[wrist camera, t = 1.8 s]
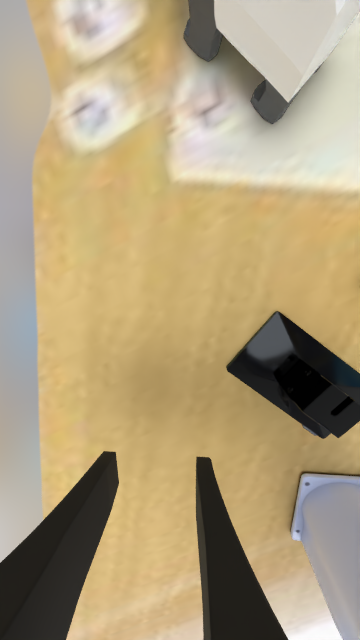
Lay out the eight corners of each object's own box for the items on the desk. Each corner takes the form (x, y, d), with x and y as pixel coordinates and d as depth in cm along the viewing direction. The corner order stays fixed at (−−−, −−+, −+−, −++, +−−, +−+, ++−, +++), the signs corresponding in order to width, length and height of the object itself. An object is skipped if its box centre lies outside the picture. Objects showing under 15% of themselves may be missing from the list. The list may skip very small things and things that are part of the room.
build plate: (377, 388, 18) (440, 427, 13) (318, 437, 19) (356, 487, 15) (276, 310, 17) (308, 323, 12) (223, 369, 18) (233, 401, 14)
